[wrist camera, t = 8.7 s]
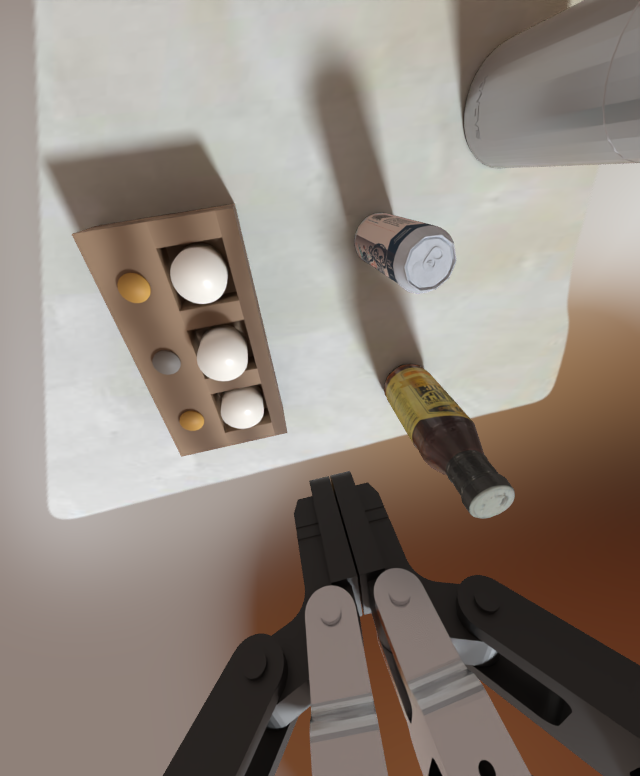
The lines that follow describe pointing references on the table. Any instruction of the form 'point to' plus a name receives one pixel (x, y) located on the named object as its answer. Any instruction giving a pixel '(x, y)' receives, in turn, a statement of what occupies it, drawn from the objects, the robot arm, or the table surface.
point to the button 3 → (242, 407)
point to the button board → (183, 320)
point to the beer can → (406, 251)
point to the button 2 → (222, 353)
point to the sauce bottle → (447, 439)
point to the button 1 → (199, 273)
